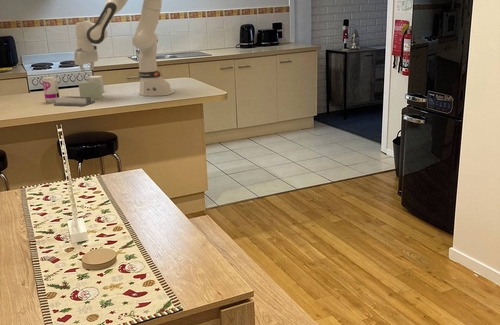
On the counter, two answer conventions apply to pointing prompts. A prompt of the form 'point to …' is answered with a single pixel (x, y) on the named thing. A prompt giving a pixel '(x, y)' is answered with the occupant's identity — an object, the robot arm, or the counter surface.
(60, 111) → the counter surface
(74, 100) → the bottom track
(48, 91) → the supplement can
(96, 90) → the door panel
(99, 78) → the small box
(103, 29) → the robot arm
